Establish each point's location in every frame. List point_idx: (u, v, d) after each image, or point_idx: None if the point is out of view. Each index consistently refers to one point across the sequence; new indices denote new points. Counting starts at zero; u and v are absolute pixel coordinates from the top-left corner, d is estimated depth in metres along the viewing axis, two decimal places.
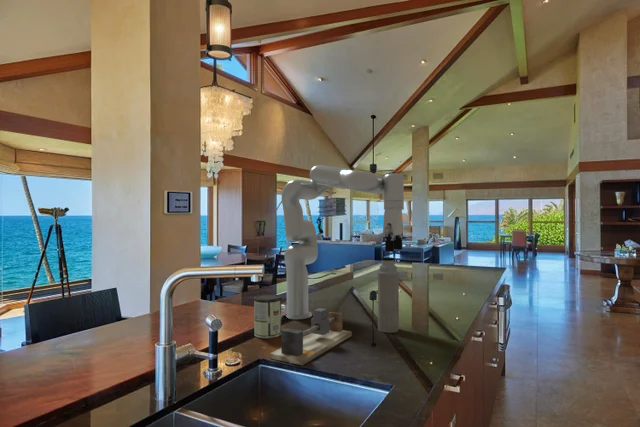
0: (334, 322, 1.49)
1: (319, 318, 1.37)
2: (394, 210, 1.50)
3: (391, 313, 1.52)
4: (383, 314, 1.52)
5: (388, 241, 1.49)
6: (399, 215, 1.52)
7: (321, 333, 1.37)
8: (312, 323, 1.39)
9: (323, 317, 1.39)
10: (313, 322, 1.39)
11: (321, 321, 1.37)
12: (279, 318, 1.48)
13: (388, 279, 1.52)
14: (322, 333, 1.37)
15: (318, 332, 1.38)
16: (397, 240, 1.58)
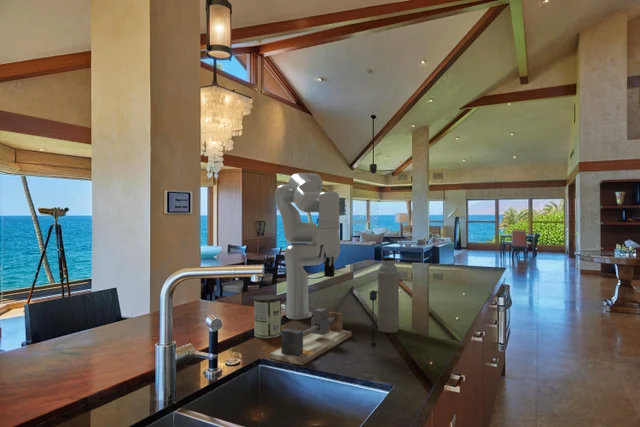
0: (334, 322, 1.49)
1: (319, 318, 1.37)
2: (327, 231, 1.41)
3: (391, 313, 1.52)
4: (383, 314, 1.52)
5: (327, 266, 1.44)
6: (334, 236, 1.43)
7: (321, 333, 1.37)
8: (312, 323, 1.39)
9: (323, 317, 1.39)
10: (313, 322, 1.39)
11: (321, 321, 1.37)
12: (279, 318, 1.48)
13: (388, 279, 1.52)
14: (322, 333, 1.37)
15: (318, 332, 1.38)
16: None
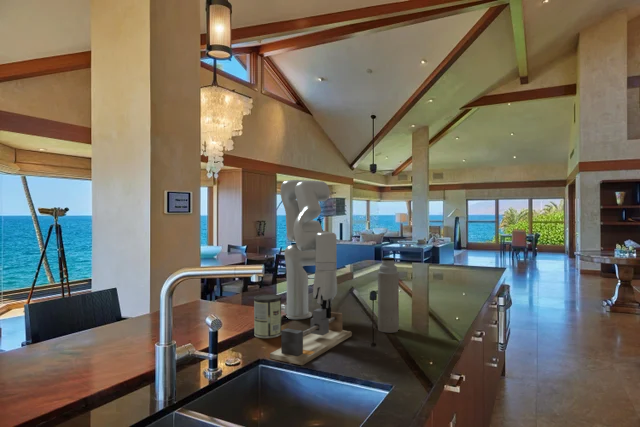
0: (334, 322, 1.49)
1: (319, 318, 1.37)
2: (324, 273, 1.39)
3: (391, 313, 1.52)
4: (383, 314, 1.52)
5: (323, 308, 1.42)
6: (331, 277, 1.41)
7: (321, 333, 1.37)
8: (312, 323, 1.39)
9: (323, 317, 1.38)
10: (313, 322, 1.38)
11: (321, 321, 1.37)
12: (279, 318, 1.48)
13: (388, 279, 1.52)
14: (322, 333, 1.37)
15: (318, 332, 1.37)
16: None
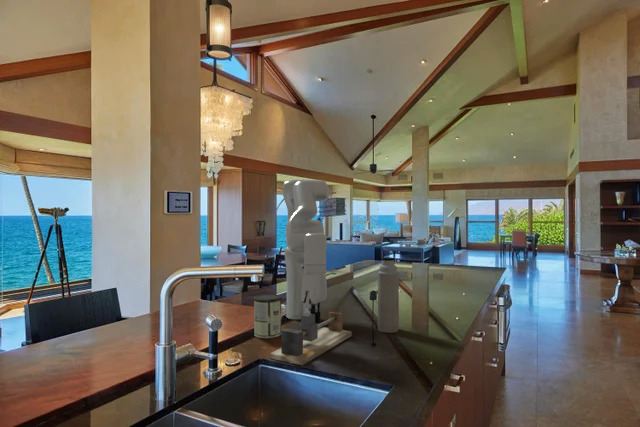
0: (334, 322, 1.49)
1: (307, 323, 1.30)
2: (313, 276, 1.32)
3: (391, 313, 1.52)
4: (383, 314, 1.52)
5: (312, 312, 1.35)
6: (320, 280, 1.35)
7: (309, 339, 1.30)
8: (300, 328, 1.32)
9: (311, 322, 1.32)
10: (300, 328, 1.32)
11: (309, 327, 1.30)
12: (279, 318, 1.48)
13: (388, 279, 1.52)
14: (310, 339, 1.30)
15: (306, 338, 1.31)
16: None
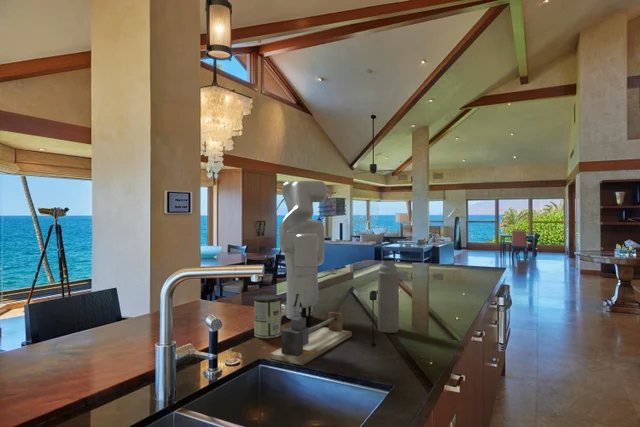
0: (334, 322, 1.49)
1: (297, 328, 1.25)
2: (303, 278, 1.27)
3: (391, 313, 1.52)
4: (383, 314, 1.52)
5: (303, 316, 1.30)
6: (311, 283, 1.30)
7: None
8: None
9: (302, 327, 1.27)
10: None
11: None
12: (279, 318, 1.48)
13: (388, 279, 1.52)
14: None
15: None
16: None
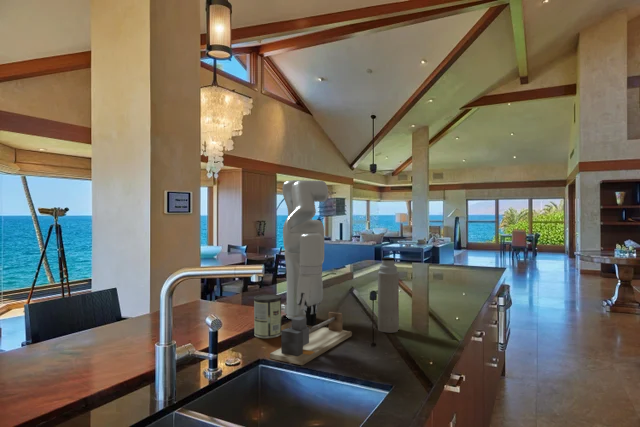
0: (334, 322, 1.49)
1: (297, 328, 1.26)
2: (308, 277, 1.30)
3: (391, 313, 1.52)
4: (383, 314, 1.52)
5: (308, 314, 1.33)
6: (316, 282, 1.33)
7: None
8: None
9: (302, 326, 1.27)
10: None
11: None
12: (279, 318, 1.48)
13: (388, 279, 1.52)
14: None
15: None
16: None
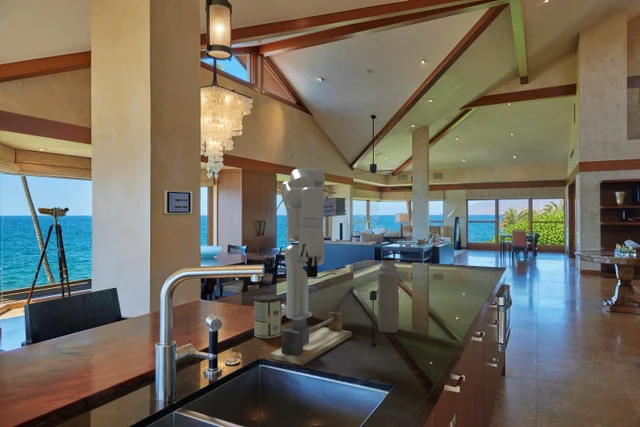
0: (334, 322, 1.49)
1: (297, 328, 1.26)
2: (310, 229, 1.32)
3: (391, 313, 1.52)
4: (383, 314, 1.52)
5: (309, 266, 1.36)
6: (317, 234, 1.35)
7: None
8: None
9: (302, 326, 1.27)
10: None
11: None
12: (279, 318, 1.48)
13: (388, 279, 1.52)
14: None
15: None
16: None
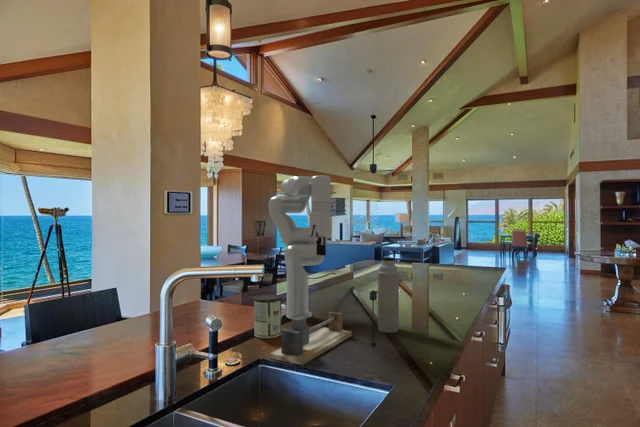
0: (334, 322, 1.49)
1: (297, 328, 1.26)
2: (319, 212, 1.50)
3: (391, 313, 1.52)
4: (383, 314, 1.52)
5: (319, 245, 1.53)
6: (325, 217, 1.53)
7: None
8: None
9: (302, 326, 1.27)
10: None
11: None
12: (279, 318, 1.48)
13: (388, 279, 1.52)
14: None
15: None
16: None
